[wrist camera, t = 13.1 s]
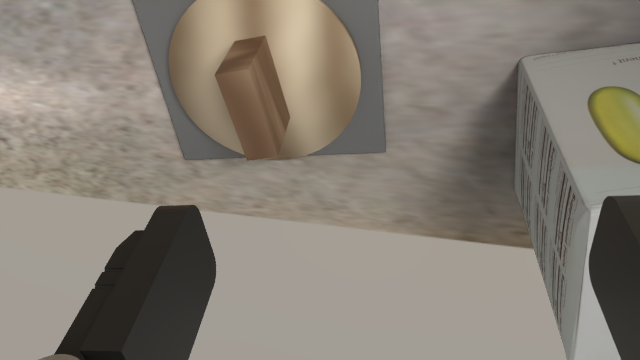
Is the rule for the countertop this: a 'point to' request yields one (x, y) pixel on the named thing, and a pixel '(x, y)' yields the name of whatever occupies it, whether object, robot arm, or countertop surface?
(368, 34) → the mat
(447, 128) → the countertop surface
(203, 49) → the lid
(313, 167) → the countertop surface
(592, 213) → the supplement box
